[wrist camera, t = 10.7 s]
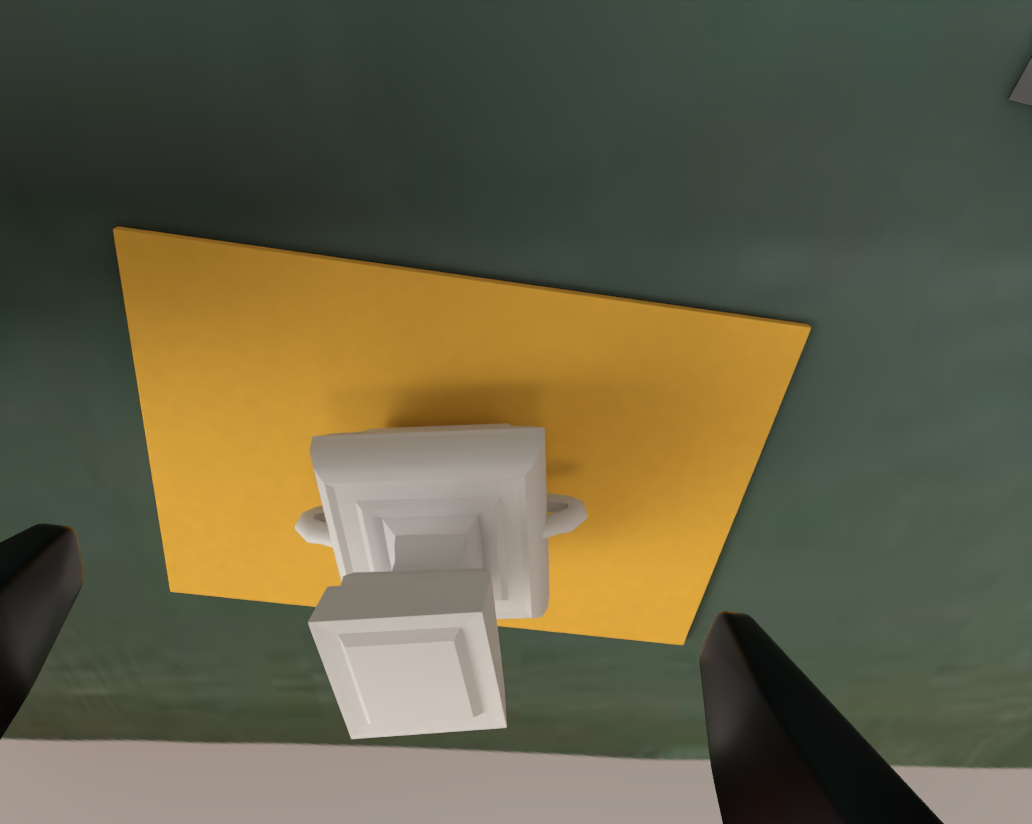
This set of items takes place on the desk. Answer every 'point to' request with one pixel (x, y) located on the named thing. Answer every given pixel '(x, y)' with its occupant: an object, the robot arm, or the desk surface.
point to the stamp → (429, 568)
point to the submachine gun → (1024, 87)
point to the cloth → (443, 414)
